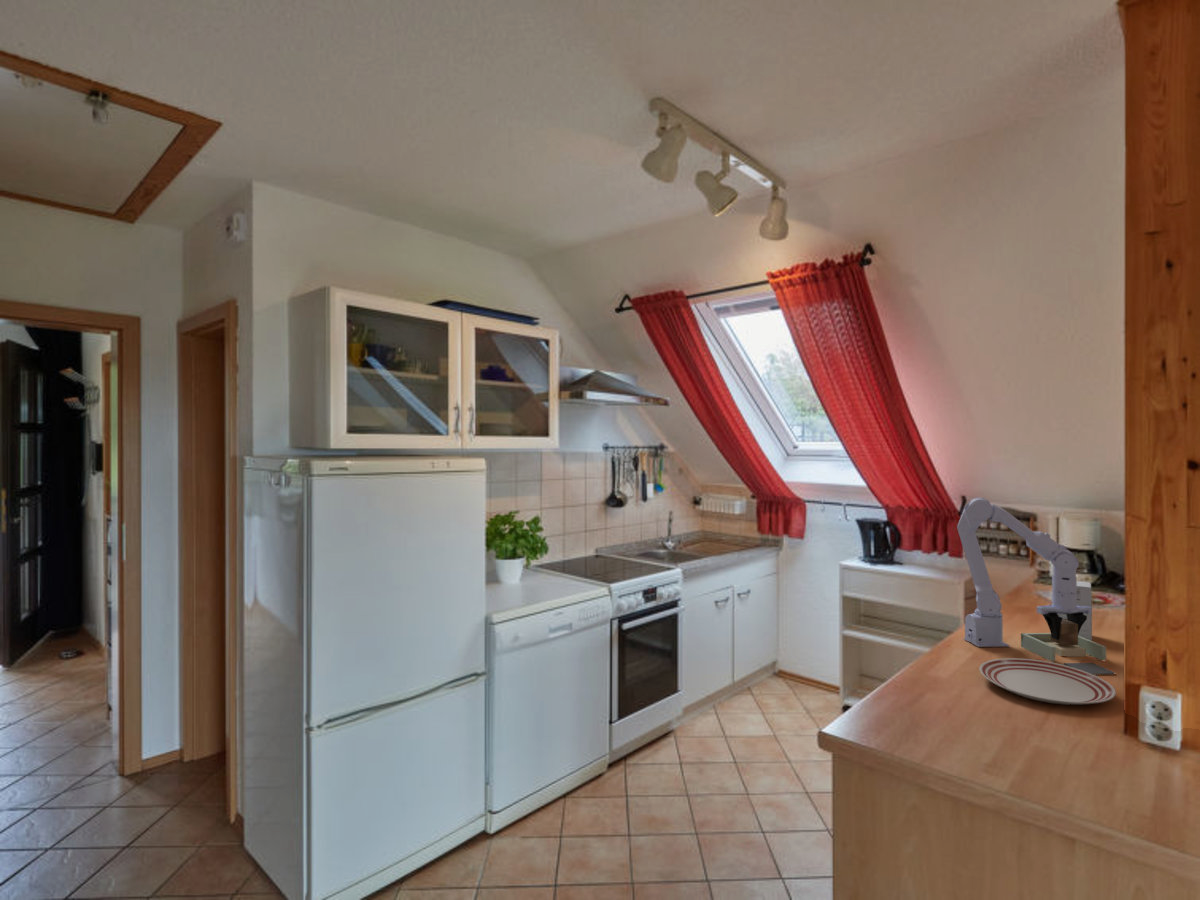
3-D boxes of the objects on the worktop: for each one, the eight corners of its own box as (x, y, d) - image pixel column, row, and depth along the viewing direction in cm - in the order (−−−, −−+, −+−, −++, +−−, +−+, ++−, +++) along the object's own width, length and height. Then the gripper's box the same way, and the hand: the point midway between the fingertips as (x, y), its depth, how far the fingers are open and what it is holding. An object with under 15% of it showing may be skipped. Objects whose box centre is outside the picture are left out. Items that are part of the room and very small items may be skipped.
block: (1062, 645, 180) (1062, 624, 180) (1051, 640, 184) (1051, 620, 184) (1078, 645, 180) (1077, 624, 180) (1066, 640, 184) (1066, 619, 184)
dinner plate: (1143, 718, 139) (1143, 703, 139) (1006, 709, 145) (1006, 694, 145) (1076, 673, 166) (1076, 661, 166) (963, 667, 172) (963, 655, 172)
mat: (1085, 675, 164) (1085, 673, 164) (1063, 664, 172) (1063, 663, 172) (1116, 675, 164) (1116, 673, 164) (1093, 664, 172) (1093, 662, 172)
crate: (1051, 661, 175) (1051, 647, 175) (1021, 646, 188) (1020, 633, 188) (1106, 661, 174) (1106, 646, 174) (1071, 646, 187) (1071, 632, 187)
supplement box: (1092, 643, 190) (1091, 587, 190) (1054, 637, 196) (1054, 583, 196) (1091, 635, 198) (1091, 581, 198) (1055, 630, 203) (1055, 578, 203)
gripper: (1048, 595, 178) (1048, 642, 178) (1100, 594, 178) (1100, 642, 178) (1031, 589, 185) (1031, 635, 185) (1081, 589, 185) (1081, 635, 185)
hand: (1064, 638), depth 182 cm, fingers closed on block, 4 cm apart
